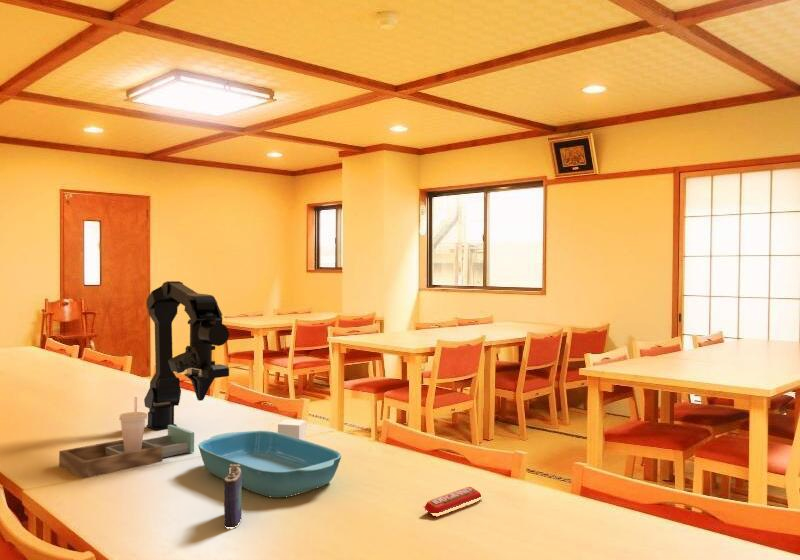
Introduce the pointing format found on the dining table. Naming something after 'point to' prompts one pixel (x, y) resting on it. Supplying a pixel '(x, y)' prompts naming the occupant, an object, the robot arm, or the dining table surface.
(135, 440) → the smoothie
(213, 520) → the dining table surface
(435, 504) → the candy bar
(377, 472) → the dining table surface
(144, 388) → the dining table surface
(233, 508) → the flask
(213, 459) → the casserole dish
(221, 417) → the dining table surface
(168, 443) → the tray
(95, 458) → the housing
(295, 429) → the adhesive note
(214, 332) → the robot arm
